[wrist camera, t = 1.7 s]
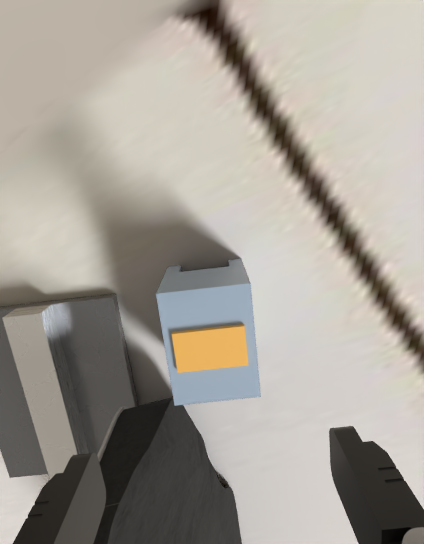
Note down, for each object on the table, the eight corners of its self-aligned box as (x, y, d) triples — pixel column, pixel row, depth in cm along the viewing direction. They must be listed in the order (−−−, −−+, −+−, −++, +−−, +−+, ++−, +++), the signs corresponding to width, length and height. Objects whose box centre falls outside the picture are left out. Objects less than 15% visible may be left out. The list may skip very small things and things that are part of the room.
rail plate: (-37, 310, 25) (-63, 325, 23) (115, 293, 25) (105, 306, 23) (15, 469, 29) (-3, 496, 27) (148, 456, 29) (142, 481, 26)
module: (168, 266, 25) (154, 295, 19) (241, 258, 24) (251, 284, 19) (181, 356, 26) (174, 409, 21) (249, 349, 26) (261, 399, 20)
